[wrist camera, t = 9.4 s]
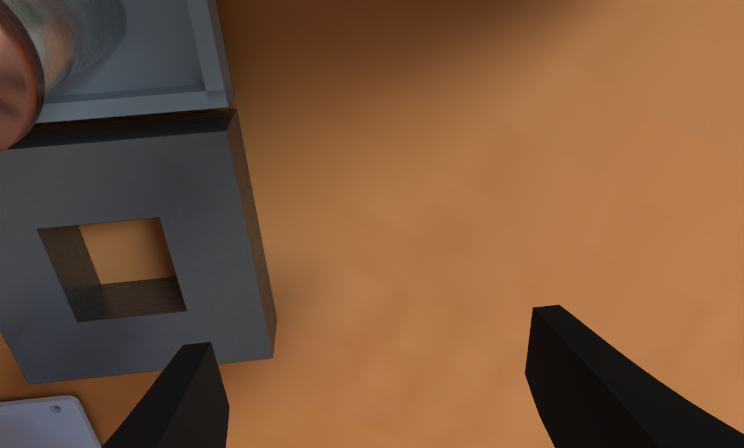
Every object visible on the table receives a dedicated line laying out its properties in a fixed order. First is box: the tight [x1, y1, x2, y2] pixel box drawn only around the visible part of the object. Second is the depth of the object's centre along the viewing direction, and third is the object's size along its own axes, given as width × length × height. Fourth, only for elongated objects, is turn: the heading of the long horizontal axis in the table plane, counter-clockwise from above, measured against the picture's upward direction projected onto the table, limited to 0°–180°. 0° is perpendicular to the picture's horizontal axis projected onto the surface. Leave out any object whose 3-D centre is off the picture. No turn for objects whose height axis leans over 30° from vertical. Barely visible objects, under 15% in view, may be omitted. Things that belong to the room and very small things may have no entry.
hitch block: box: [0, 109, 277, 385], centre depth 20 cm, size 10×10×2 cm
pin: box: [0, 0, 127, 154], centre depth 13 cm, size 4×4×8 cm
